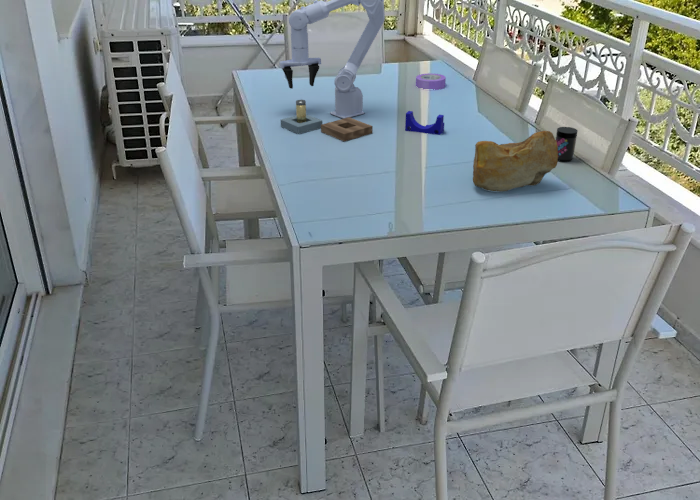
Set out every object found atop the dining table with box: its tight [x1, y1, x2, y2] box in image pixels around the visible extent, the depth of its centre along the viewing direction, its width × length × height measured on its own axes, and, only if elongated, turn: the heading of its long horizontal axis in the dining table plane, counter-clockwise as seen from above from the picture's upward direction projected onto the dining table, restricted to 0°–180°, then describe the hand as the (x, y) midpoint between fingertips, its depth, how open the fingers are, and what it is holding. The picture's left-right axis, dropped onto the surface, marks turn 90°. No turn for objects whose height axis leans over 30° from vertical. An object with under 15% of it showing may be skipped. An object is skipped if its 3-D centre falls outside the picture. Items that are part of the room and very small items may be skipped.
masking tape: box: [415, 72, 447, 91], centre depth 278 cm, size 12×12×4 cm
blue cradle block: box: [404, 110, 445, 136], centre depth 231 cm, size 12×4×6 cm, turn 68°
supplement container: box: [555, 126, 579, 163], centre depth 207 cm, size 6×6×9 cm
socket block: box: [320, 117, 373, 142], centre depth 230 cm, size 12×12×2 cm
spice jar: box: [295, 99, 307, 123], centre depth 233 cm, size 3×3×9 cm
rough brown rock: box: [472, 130, 559, 193], centre depth 192 cm, size 23×17×15 cm
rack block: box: [279, 113, 323, 135], centre depth 235 cm, size 10×10×2 cm
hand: (301, 86), depth 245 cm, fingers open, 7 cm apart
